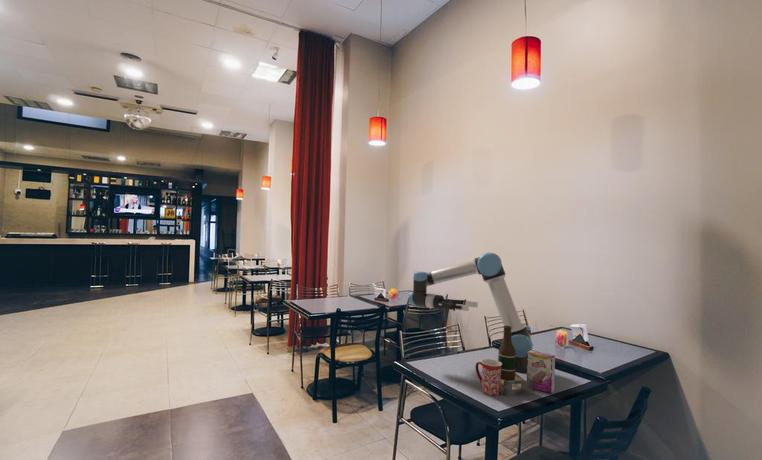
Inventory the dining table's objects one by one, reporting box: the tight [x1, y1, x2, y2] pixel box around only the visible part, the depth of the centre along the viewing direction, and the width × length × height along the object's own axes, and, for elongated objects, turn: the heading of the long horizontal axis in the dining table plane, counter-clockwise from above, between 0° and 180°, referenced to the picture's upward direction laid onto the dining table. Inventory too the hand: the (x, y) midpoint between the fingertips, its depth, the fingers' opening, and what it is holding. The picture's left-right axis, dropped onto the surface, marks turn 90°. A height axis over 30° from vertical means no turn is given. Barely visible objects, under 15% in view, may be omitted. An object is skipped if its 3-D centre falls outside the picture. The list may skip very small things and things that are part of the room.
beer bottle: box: [497, 325, 516, 381], centre depth 165 cm, size 8×8×24 cm
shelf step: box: [499, 372, 533, 396], centre depth 163 cm, size 13×16×6 cm
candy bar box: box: [526, 349, 556, 395], centre depth 163 cm, size 11×5×16 cm, turn 49°
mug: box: [475, 358, 502, 397], centre depth 158 cm, size 13×9×14 cm
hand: (473, 306), depth 181 cm, fingers open, 13 cm apart
